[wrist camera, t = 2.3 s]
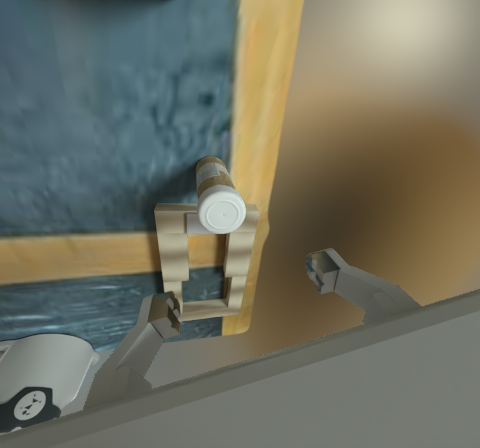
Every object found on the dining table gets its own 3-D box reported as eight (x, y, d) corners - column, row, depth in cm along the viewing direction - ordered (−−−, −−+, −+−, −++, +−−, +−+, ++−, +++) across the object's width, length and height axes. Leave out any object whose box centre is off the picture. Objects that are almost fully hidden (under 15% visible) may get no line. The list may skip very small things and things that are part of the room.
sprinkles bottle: (229, 178, 30) (252, 225, 19) (202, 189, 30) (209, 242, 19) (219, 150, 27) (238, 184, 16) (189, 162, 27) (188, 204, 16)
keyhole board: (237, 304, 48) (239, 316, 45) (169, 312, 44) (168, 325, 41) (255, 204, 33) (260, 213, 31) (156, 203, 29) (153, 212, 27)
